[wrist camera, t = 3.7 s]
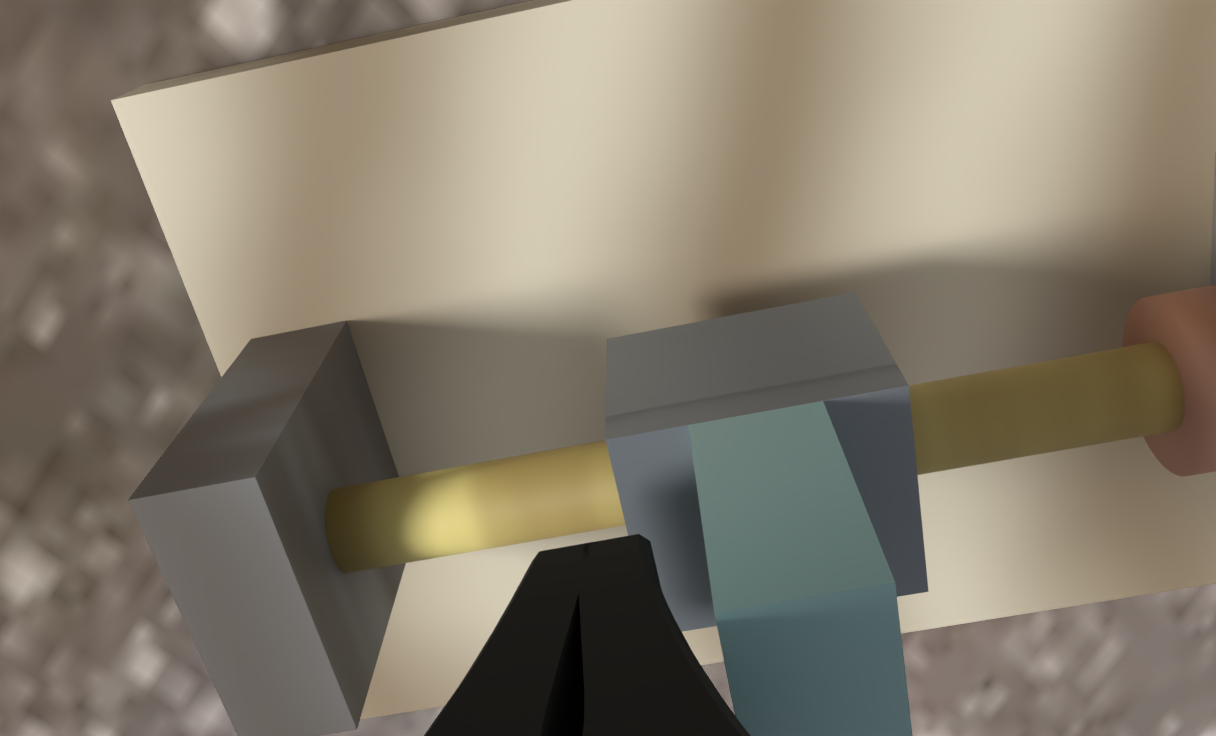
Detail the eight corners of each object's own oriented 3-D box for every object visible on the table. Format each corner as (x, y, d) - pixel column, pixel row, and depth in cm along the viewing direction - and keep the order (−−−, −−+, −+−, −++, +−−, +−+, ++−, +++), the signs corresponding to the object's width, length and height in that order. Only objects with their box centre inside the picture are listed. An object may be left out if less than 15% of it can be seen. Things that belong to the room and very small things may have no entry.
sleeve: (855, 292, 15) (1011, 563, 9) (875, 470, 16) (1024, 811, 10) (606, 338, 15) (603, 630, 10) (645, 511, 17) (664, 862, 11)
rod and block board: (1349, -178, 15) (1770, -204, 10) (1293, 526, 20) (1547, 773, 15) (143, 85, 17) (-85, 191, 11) (371, 676, 22) (289, 949, 16)
